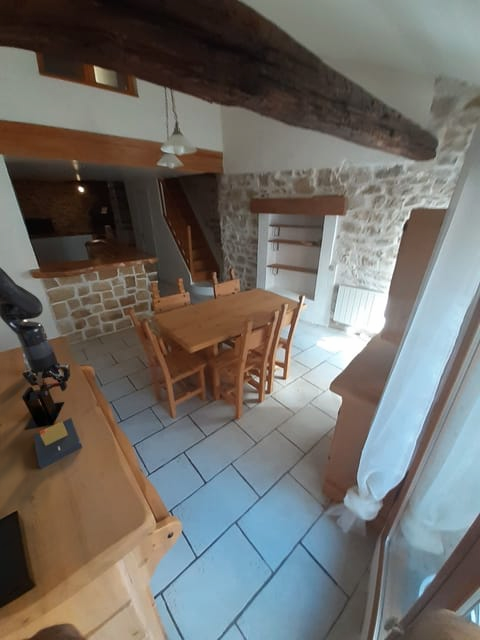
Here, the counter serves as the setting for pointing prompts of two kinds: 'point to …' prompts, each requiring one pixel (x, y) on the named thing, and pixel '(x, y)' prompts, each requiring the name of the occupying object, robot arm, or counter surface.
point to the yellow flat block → (53, 433)
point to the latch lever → (34, 393)
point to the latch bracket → (41, 408)
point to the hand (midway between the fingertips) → (55, 390)
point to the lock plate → (57, 445)
